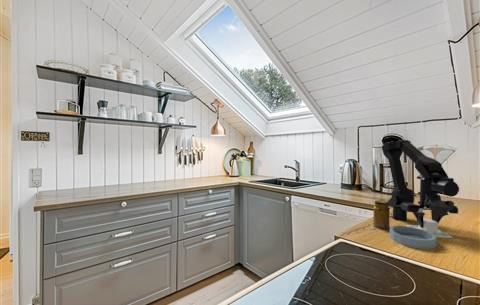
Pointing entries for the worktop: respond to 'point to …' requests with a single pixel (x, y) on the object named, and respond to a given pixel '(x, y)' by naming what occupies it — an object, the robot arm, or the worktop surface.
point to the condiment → (381, 215)
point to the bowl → (413, 237)
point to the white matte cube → (430, 226)
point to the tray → (438, 235)
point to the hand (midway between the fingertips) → (427, 228)
